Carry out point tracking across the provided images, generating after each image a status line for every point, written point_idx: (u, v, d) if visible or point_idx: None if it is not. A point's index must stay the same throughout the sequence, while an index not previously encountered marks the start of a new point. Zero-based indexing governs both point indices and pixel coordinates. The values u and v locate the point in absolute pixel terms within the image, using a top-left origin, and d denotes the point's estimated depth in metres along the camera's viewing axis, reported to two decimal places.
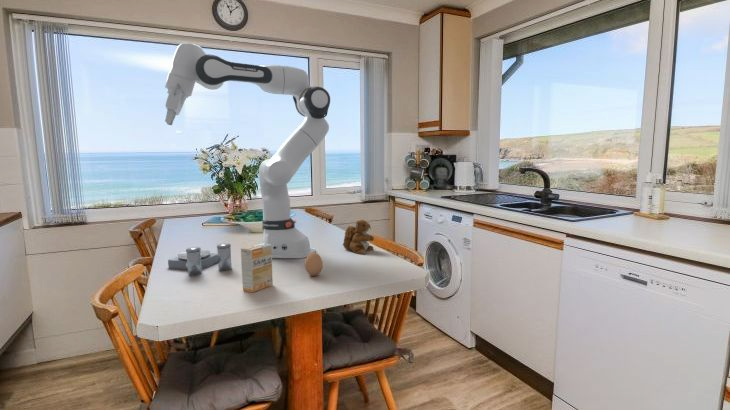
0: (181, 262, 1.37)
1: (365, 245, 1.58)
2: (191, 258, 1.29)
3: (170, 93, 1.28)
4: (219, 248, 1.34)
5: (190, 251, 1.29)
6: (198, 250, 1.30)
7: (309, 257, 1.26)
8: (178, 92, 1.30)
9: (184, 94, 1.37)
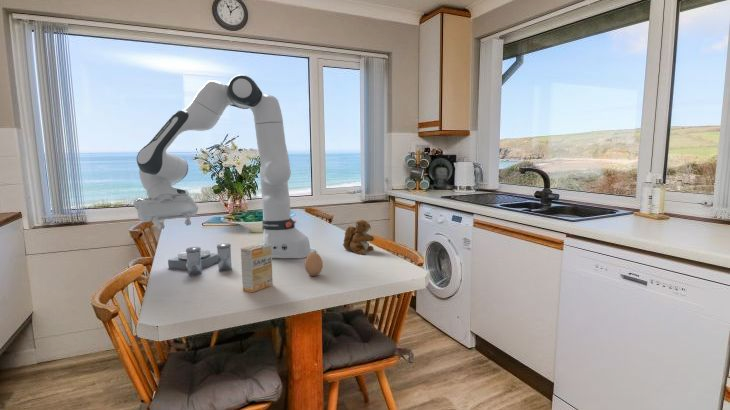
0: (181, 262, 1.37)
1: (365, 245, 1.58)
2: (191, 258, 1.29)
3: (137, 211, 1.35)
4: (219, 248, 1.34)
5: (190, 251, 1.29)
6: (198, 250, 1.30)
7: (309, 257, 1.26)
8: (138, 205, 1.34)
9: (160, 198, 1.39)
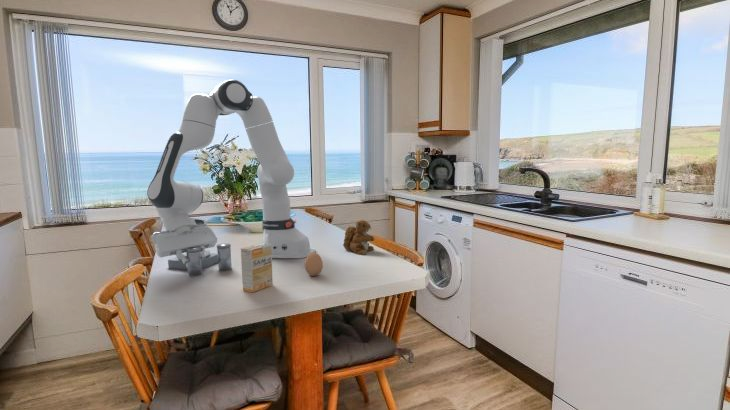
0: (181, 262, 1.37)
1: (365, 245, 1.57)
2: (191, 258, 1.29)
3: None
4: (219, 248, 1.34)
5: (190, 251, 1.29)
6: (198, 250, 1.30)
7: (309, 257, 1.26)
8: (155, 239, 1.27)
9: (178, 230, 1.32)
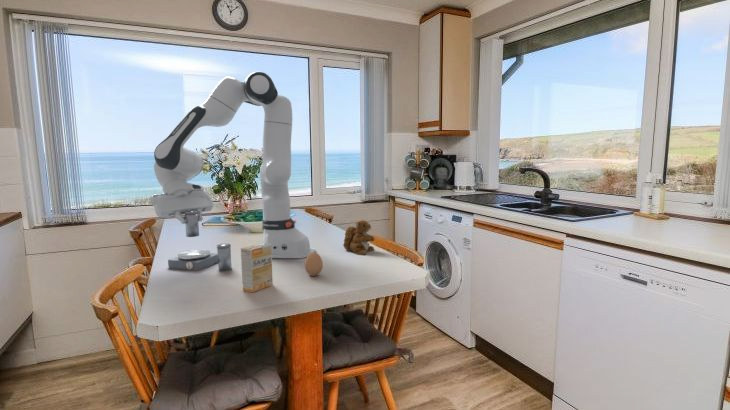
0: (181, 262, 1.37)
1: (366, 245, 1.57)
2: (189, 220, 1.36)
3: (154, 207, 1.35)
4: (219, 248, 1.34)
5: (188, 213, 1.36)
6: (196, 213, 1.37)
7: (309, 257, 1.26)
8: (155, 200, 1.34)
9: (176, 193, 1.40)
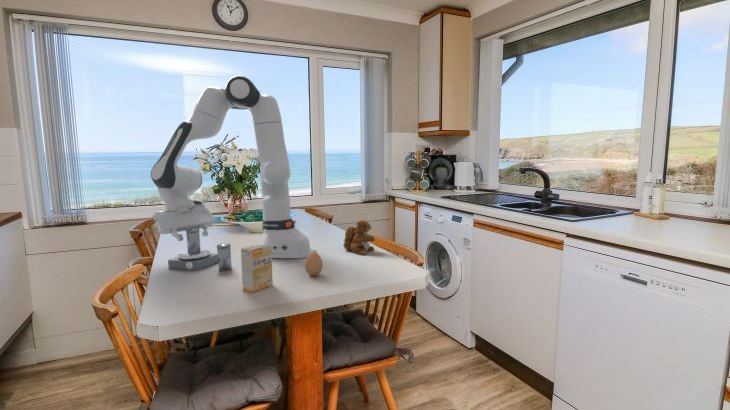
0: (181, 262, 1.37)
1: (366, 246, 1.57)
2: (190, 238, 1.40)
3: None
4: (219, 248, 1.34)
5: (190, 232, 1.39)
6: (197, 231, 1.41)
7: (309, 257, 1.26)
8: (157, 217, 1.38)
9: (178, 210, 1.43)
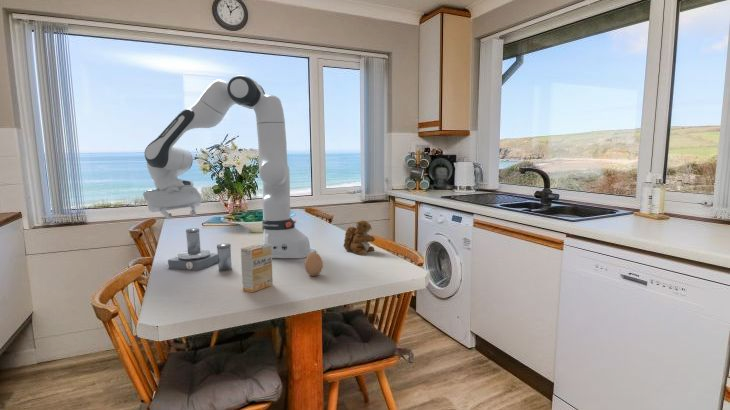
0: (181, 262, 1.37)
1: (366, 246, 1.57)
2: (190, 238, 1.40)
3: None
4: (219, 248, 1.34)
5: (190, 232, 1.39)
6: (197, 231, 1.41)
7: (309, 257, 1.26)
8: (147, 196, 1.45)
9: (167, 189, 1.50)
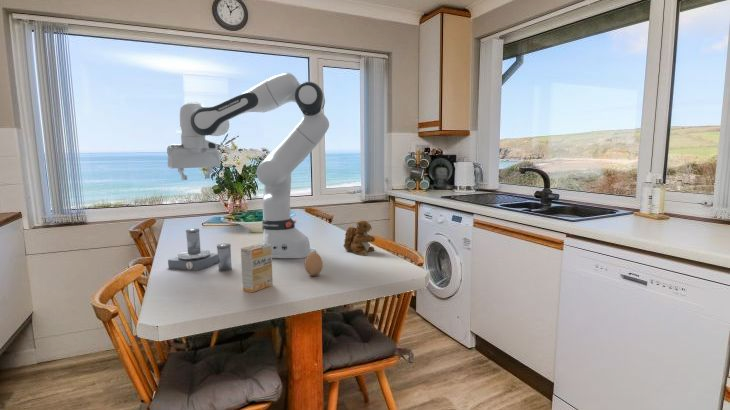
0: (181, 262, 1.37)
1: (366, 246, 1.56)
2: (190, 238, 1.40)
3: (168, 156, 1.47)
4: (219, 248, 1.34)
5: (190, 232, 1.39)
6: (197, 231, 1.41)
7: (309, 257, 1.26)
8: (170, 152, 1.45)
9: (191, 149, 1.50)
